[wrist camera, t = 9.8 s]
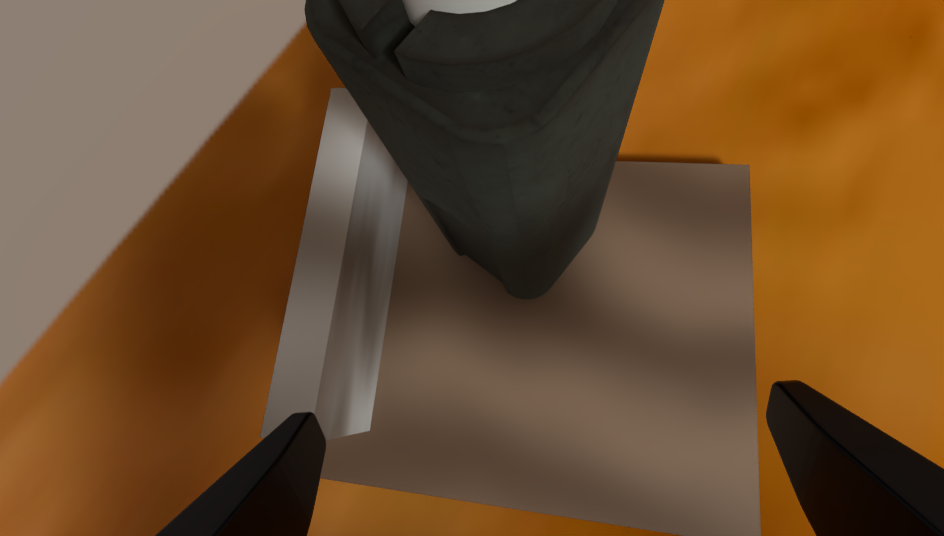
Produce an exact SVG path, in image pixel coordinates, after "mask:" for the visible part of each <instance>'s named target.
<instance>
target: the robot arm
mask: <svg viewBox="0 0 944 536" xmlns="http://www.w3.org/2000/svg"><path fill="white" fill-rule="evenodd" d="M766 419H767V424H768V427H769V429H770V432H771V434H772V437H773V439H774V442H775V444H776V446H777V449H778V451H779V454H780V456H781V459H782V461H783V464H784V466H785V469H786V471H787V474H788V476H789V478H790V481H791V483H792V486H793V488H794V491H795V493H796V495H797V498H798V500H799V502H800V505H801V507H802V509H803V511H804V513H805V515H806V517H807V519H808V521H809V522H810V524H811V526H812V528H813V530H814V532H815V534H816V535H817V536H944V469H943V468H941V467H940V466H938V465H937V464H935V463H933V462H932V461H930V460H928V459H927V458H925V457H924V456H922V455H920V454H919V453H917V452H915V451H914V450H912V449H911V448H909V447H907V446H906V445H904V444H902V443H901V442H899V441H898V440H896V439H894V438H893V437H891V436H889V435H888V434H886V433H885V432H883V431H881V430H880V429H878V428H876V427H875V426H873V425H872V424H870V423H868V422H867V421H865V420H863V419H862V418H860V417H859V416H857V415H855V414H854V413H852V412H850V411H849V410H847V409H846V408H844V407H842V406H841V405H839V404H837V403H836V402H834V401H832V400H831V399H829V398H828V397H826V396H824V395H823V394H821V393H819V392H818V391H816V390H815V389H813V388H811V387H810V386H808V385H806V384H805V383H803V382H801V381H798V380H790V381H777V382H775V383H774V384H773V385H772V388H771V392H770V397H769V401H768V406H767V411H766ZM325 451H326V439H325V436H324V434H323V431H322V429H321V427H320V425H319V422H318V420H317V418H316V416H315V414H314V413H312V412H296V413H293V414H291V415H290V416H289V417H288V418H287V419H285V420H284V421H283V422H282V423H281V424H280V425H279V426H278V427H276V428H275V429H274V430H273V431H272V432H271V433H270V434H269V435H267V436H266V437H265V438H264V439H263V440H262V441H261V442H260V443H258V444H257V445H256V446H255V447H254V448H253V449H252V450H251V451H250V452H248V453H247V454H246V455H245V456H244V457H243V458H242V459H241V460H239V461H238V462H237V463H236V464H235V465H234V466H233V467H232V468H230V469H229V470H228V471H227V472H226V473H225V474H224V475H223V476H221V477H220V478H219V479H218V480H217V481H216V482H215V483H214V484H212V485H211V486H210V487H209V488H208V489H207V490H206V491H205V492H203V493H202V494H201V495H200V496H199V497H198V498H197V499H196V500H195V501H193V502H192V503H191V504H190V505H189V506H188V507H187V508H186V509H184V510H183V511H182V512H181V513H180V514H179V515H178V516H177V517H175V518H174V519H173V520H172V521H171V522H170V523H169V524H168V525H166V526H165V527H164V528H163V529H162V530H161V531H160V532H159V533H157V534H156V535H155V536H307V533H308V530H309V526H310V523H311V519H312V514H313V510H314V505H315V500H316V495H317V490H318V486H319V481H320V476H321V471H322V466H323V461H324V456H325Z"/></svg>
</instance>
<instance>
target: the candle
mask: <svg viewBox="0 0 944 536" xmlns="http://www.w3.org/2000/svg"><path fill="white" fill-rule="evenodd" d="M663 3H664V0H306V4H305V15H306V21H307V26H308V29H309V31H310V33H311V34H312V36H313V38H314V40H315V42H316V43H317V45H318V46H319V48H320V49H321V51H322V52H323V54H324V55H325V57H326V58H327V60H328V61H329V63H330V64H331V66H332V67H333V69H334V70H335V72H336V73H337V75H338V76H339V78H340V79H341V81H342V82H343V84H344V85H345V87H346V88H347V90H348V91H349V93H350V94H351V96H352V97H353V99H354V101H355V102H356V104H357V105H358V107H359V108H360V110H361V111H362V113H363V114H364V116H365V117H366V119H367V120H368V122H369V123H370V125H371V126H372V128H373V129H374V131H375V132H376V134H377V135H378V137H379V138H380V140H381V141H382V143H383V144H384V146H385V147H386V149H387V150H388V152H389V153H390V155H391V156H392V158H393V159H394V161H395V162H396V164H397V165H398V167H399V168H400V170H401V171H402V173H403V174H404V176H405V177H406V179H407V180H408V182H409V183H410V185H411V186H412V188H413V189H414V191H415V192H416V194H417V195H418V197H419V199H420V200H421V202H422V203H423V205H424V206H425V208H426V209H427V211H428V212H429V214H430V215H431V217H432V218H433V220H434V221H435V223H436V224H437V226H438V227H439V229H440V230H441V232H442V233H443V235H444V236H445V238H446V239H447V241H448V242H449V244H450V245H451V247H452V248H453V250H454V251H455V252H456V253H457V254H458V255H459V256H463V255H467V256H468V257H469V258H470V259H472V260H473V261H474V262H476V263H477V264H478V265H480V266H481V267H482V268H484V269H485V270H486V271H488V272H489V273H490V274H491V275H493V276H494V277H495V278H497V279H498V280H499V281H501V282H502V283H503V284H504V285H505V288H506V290H507V292H508V293H509V294H511V295H512V296H514V297H516V298H520V299H534V298H538V297H540V296H542V295H543V294H545V293H546V292H547V291H548V290H549V289H550V288H551V287H552V286H553V285H554V283H555V282H556V281H557V279H558V278H559V277H560V276H561V274H562V273H563V272H564V271H565V269H566V268H567V267H568V266H569V264H570V263H571V262H572V260H573V259H574V258H575V257H576V255H577V254H578V253H579V252H580V250H581V249H582V248H583V247H584V245H585V244H586V243H587V241H588V240H589V239H590V238H591V236H592V235H593V233H594V231H595V229H596V225H597V222H598V219H599V215H600V212H601V209H602V205H603V202H604V199H605V196H606V192H607V189H608V186H609V182H610V179H611V176H612V172H613V169H614V166H615V162H616V159H617V156H618V152H619V149H620V146H621V143H622V139H623V136H624V133H625V129H626V126H627V123H628V119H629V116H630V113H631V109H632V106H633V103H634V99H635V96H636V93H637V90H638V86H639V83H640V80H641V76H642V73H643V70H644V66H645V63H646V60H647V56H648V53H649V50H650V46H651V43H652V40H653V36H654V33H655V30H656V27H657V23H658V20H659V17H660V13H661V10H662V7H663Z"/></svg>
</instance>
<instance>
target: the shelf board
mask: <svg viewBox="0 0 944 536" xmlns="http://www.w3.org/2000/svg"><path fill="white" fill-rule="evenodd" d="M296 412H312V413H314V414H315V416H316V418H317V420H318V422H319V425H320V427H321V429H322V431H323V434H324V436H325V439H326V451H325V456H324V461H323V466H322V471H321V476H320V478H322V479H328V480H335V481H341V482H347V483H354V484H360V485H366V486H373V487H379V488H386V489H392V490H398V491H405V492H411V493H417V494H424V495H430V496H436V497H443V498H449V499H455V500H462V501H468V502H474V503H481V504H487V505H493V506H500V507H506V508H512V509H519V510H525V511H531V512H538V513H544V514H550V515H557V516H563V517H569V518H576V519H582V520H588V521H595V522H601V523H608V524H614V525H620V526H627V527H633V528H639V529H646V530H652V531H658V532H665V533H671V534H677V535H684V536H761V531H760V499H759V466H758V433H757V400H756V367H755V334H754V301H753V268H752V236H751V203H750V170H749V165H735V164H700V163H665V162H631V161H616V162H615V166H614V169H613V172H612V176H611V179H610V182H609V186H608V189H607V192H606V196H605V199H604V202H603V205H602V209H601V212H600V215H599V219H598V222H597V225H596V229H595V231H594V233H593V235H592V236H591V238H590V239H589V240H588V241H587V243H586V244H585V245H584V247H583V248H582V249H581V250H580V252H579V253H578V254H577V255H576V257H575V258H574V259H573V260H572V262H571V263H570V264H569V266H568V267H567V268H566V269H565V271H564V272H563V273H562V274H561V276H560V277H559V278H558V279H557V281H556V282H555V283H554V285H553V286H552V287H551V288H550V289H549V290H548V291H547V292H546V293H545V294H543V295H542V296H540V297H538V298H534V299H520V298H516V297H514V296H512V295H511V294H509V293H508V292H507V290H506V288H505V285H504V284H503V283H502V282H501V281H499V280H498V279H497V278H495V277H494V276H493V275H491V274H490V273H489V272H488V271H486V270H485V269H484V268H482V267H481V266H480V265H478V264H477V263H476V262H474V261H473V260H472V259H470V258H469V257H468V256H467V255H463V256H459V255H458V254H457V253H456V252H455V251H454V250H453V248H452V247H451V245H450V244H449V242H448V241H447V239H446V238H445V236H444V235H443V233H442V232H441V230H440V229H439V227H438V226H437V224H436V223H435V221H434V220H433V218H432V217H431V215H430V214H429V212H428V211H427V209H426V208H425V206H424V205H423V203H422V202H421V200H420V199H419V197H418V195H417V194H416V192H415V191H414V189H413V188H412V186H411V185H410V183H409V182H408V180H407V179H406V177H405V176H404V174H403V173H402V171H401V170H400V168H399V167H398V165H397V164H396V162H395V161H394V159H393V158H392V156H391V155H390V153H389V152H388V150H387V149H386V147H385V146H384V144H383V143H382V141H381V140H380V138H379V137H378V135H377V134H376V132H375V131H374V129H373V128H372V126H371V125H370V123H369V122H368V120H367V119H366V117H365V116H364V114H363V113H362V111H361V110H360V108H359V107H358V105H357V104H356V102H355V101H354V99H353V97H352V96H351V94H350V93H349V91H348V90H347V88H331V91H330V96H329V101H328V106H327V111H326V116H325V121H324V126H323V131H322V136H321V141H320V146H319V150H318V155H317V160H316V165H315V170H314V175H313V180H312V185H311V190H310V195H309V200H308V204H307V209H306V214H305V219H304V224H303V229H302V234H301V239H300V244H299V249H298V254H297V259H296V263H295V268H294V273H293V278H292V283H291V288H290V293H289V298H288V303H287V308H286V313H285V317H284V322H283V327H282V332H281V337H280V342H279V347H278V352H277V357H276V362H275V367H274V372H273V376H272V381H271V386H270V391H269V396H268V401H267V406H266V411H265V416H264V421H263V426H262V430H261V435H260V437H262V438H265V437H266V436H267V435H269V434H270V433H271V432H272V431H273V430H274V429H275V428H276V427H278V426H279V425H280V424H281V423H282V422H283V421H284V420H285V419H287V418H288V417H289V416H290V415H291V414H293V413H296Z"/></svg>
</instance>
